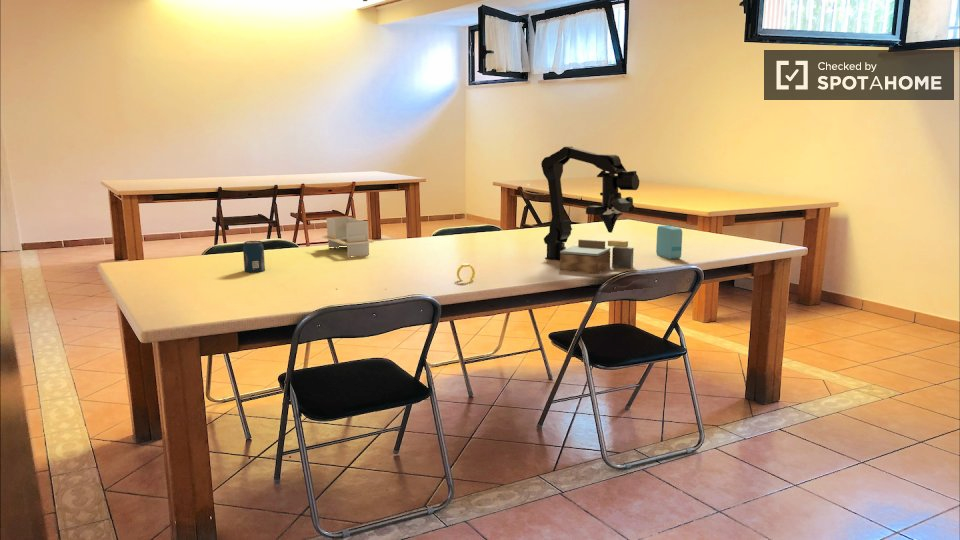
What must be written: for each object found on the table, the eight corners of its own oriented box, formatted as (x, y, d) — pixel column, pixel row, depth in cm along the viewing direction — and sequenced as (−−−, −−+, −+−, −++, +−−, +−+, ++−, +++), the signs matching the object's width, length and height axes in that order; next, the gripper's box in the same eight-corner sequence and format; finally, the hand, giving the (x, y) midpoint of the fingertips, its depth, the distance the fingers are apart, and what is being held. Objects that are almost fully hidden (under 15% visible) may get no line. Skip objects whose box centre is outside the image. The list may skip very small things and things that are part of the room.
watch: (472, 279, 246) (472, 262, 245) (475, 281, 244) (475, 264, 243) (456, 281, 244) (455, 264, 243) (459, 283, 241) (458, 265, 240)
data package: (681, 259, 283) (682, 228, 281) (670, 259, 282) (672, 229, 280) (665, 254, 295) (667, 225, 292) (655, 254, 294) (657, 225, 291)
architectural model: (322, 253, 305) (320, 218, 302) (351, 250, 312) (350, 216, 309) (344, 262, 283) (343, 224, 281) (375, 259, 290) (374, 222, 287)
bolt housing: (612, 266, 268) (612, 247, 267) (614, 265, 271) (615, 246, 269) (630, 268, 265) (631, 249, 263) (632, 267, 267) (633, 247, 266)
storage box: (560, 270, 262) (560, 254, 261) (574, 264, 274) (574, 248, 273) (597, 273, 255) (597, 257, 254) (609, 267, 267) (610, 251, 266)
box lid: (560, 253, 261) (560, 244, 260) (574, 247, 273) (574, 239, 272) (597, 256, 254) (597, 246, 253) (610, 250, 266) (610, 241, 266)
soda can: (243, 274, 258) (241, 241, 256) (264, 272, 261) (261, 239, 259) (246, 277, 252) (243, 243, 250) (266, 276, 255) (264, 242, 253)
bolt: (607, 246, 268) (607, 240, 268) (609, 245, 270) (609, 239, 269) (626, 247, 265) (626, 241, 264) (627, 246, 266) (628, 241, 266)
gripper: (605, 192, 252) (605, 236, 255) (645, 189, 262) (644, 232, 264) (584, 190, 262) (584, 233, 264) (623, 188, 271) (623, 229, 274)
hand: (610, 232), depth 266 cm, fingers closed
